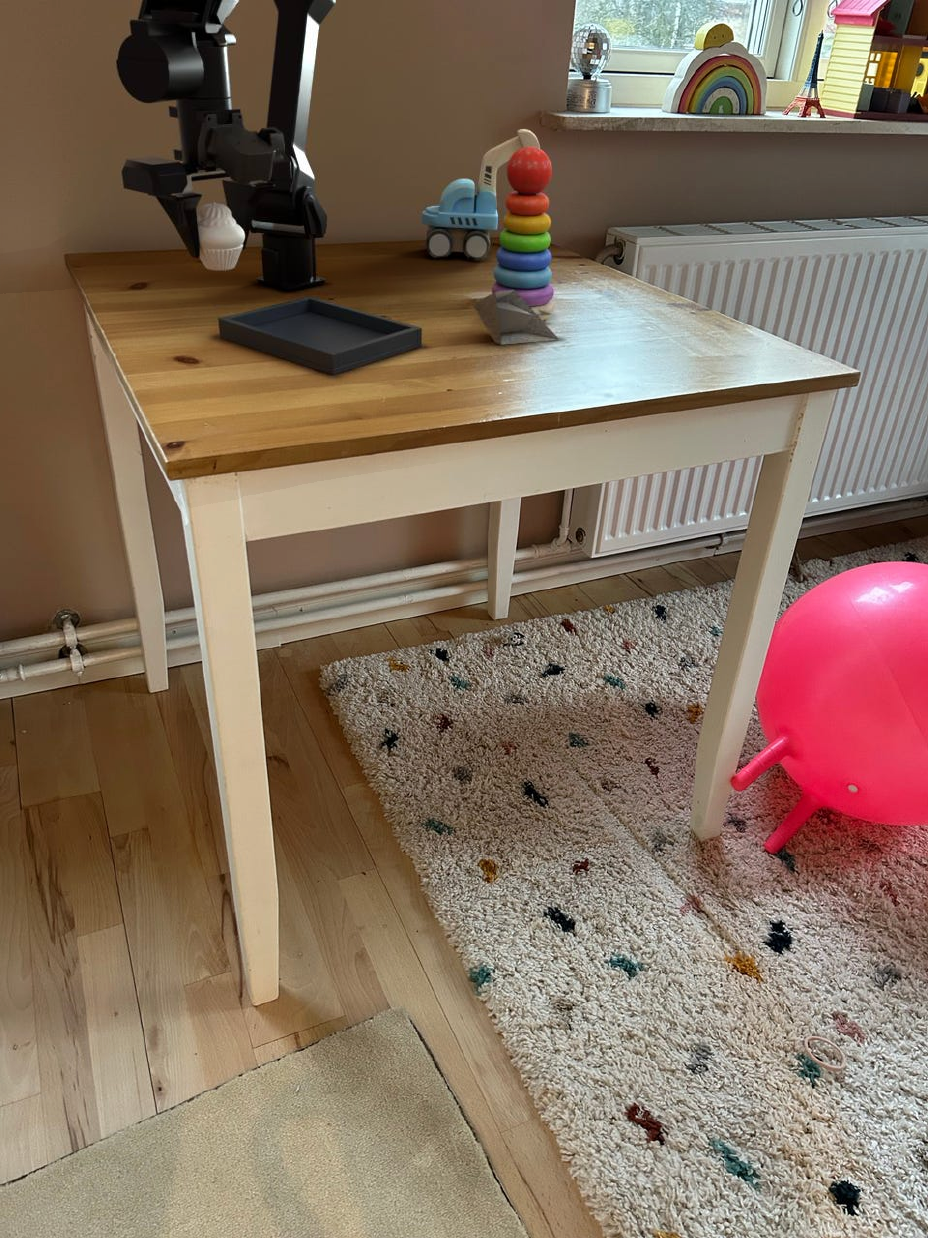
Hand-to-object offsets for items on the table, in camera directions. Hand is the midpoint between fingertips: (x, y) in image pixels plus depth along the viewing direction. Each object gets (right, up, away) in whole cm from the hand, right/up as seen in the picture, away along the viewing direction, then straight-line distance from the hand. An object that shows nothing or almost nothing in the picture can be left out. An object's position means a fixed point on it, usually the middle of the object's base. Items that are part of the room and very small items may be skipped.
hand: (218, 253), depth 108 cm
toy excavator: (+30, +13, +36) cm, 49 cm away
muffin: (0, -1, +1) cm, 2 cm away
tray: (+12, -11, -3) cm, 17 cm away
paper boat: (+33, -11, -1) cm, 35 cm away
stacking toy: (+35, -4, +9) cm, 36 cm away
